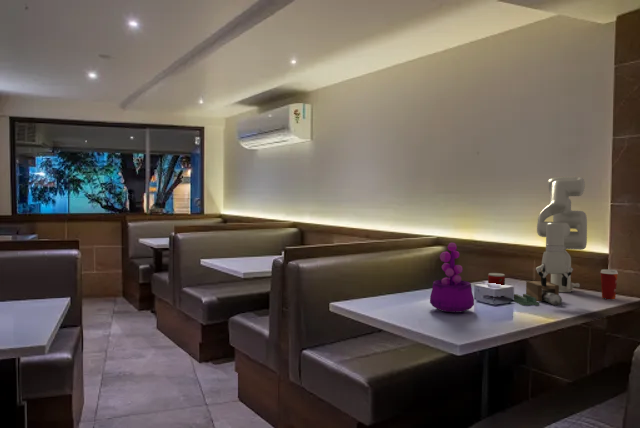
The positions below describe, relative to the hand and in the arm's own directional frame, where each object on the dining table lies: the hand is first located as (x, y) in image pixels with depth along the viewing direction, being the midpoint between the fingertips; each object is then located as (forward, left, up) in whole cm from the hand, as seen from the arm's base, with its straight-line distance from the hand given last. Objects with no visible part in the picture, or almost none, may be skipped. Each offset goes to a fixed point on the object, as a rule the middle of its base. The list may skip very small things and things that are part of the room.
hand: (554, 286), depth 231 cm
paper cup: (-33, -11, -9) cm, 36 cm away
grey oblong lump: (0, -5, -9) cm, 10 cm away
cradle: (+12, -5, -8) cm, 15 cm away
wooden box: (0, -12, -8) cm, 14 cm away
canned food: (+19, -21, -9) cm, 29 cm away
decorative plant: (+52, +10, -9) cm, 53 cm away
